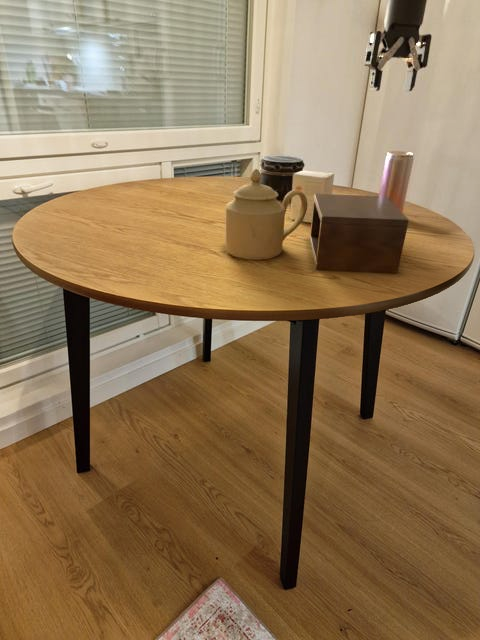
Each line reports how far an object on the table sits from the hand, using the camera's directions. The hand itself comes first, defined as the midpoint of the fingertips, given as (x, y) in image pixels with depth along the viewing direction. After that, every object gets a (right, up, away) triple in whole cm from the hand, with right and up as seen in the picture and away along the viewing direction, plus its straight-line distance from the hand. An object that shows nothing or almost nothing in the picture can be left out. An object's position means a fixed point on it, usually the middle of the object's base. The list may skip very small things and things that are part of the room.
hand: (391, 90), depth 91 cm
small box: (-16, -26, +9) cm, 32 cm away
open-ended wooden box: (-12, -37, -11) cm, 41 cm away
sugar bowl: (-29, -35, -8) cm, 46 cm away
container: (-21, -14, +31) cm, 40 cm away
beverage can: (+3, -25, +11) cm, 28 cm away
